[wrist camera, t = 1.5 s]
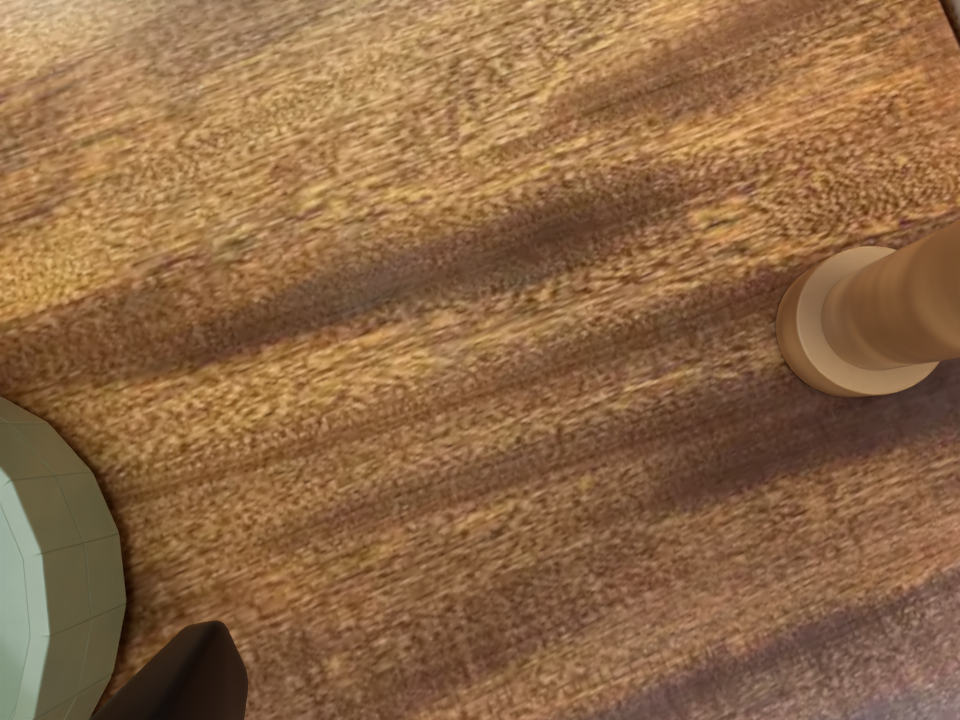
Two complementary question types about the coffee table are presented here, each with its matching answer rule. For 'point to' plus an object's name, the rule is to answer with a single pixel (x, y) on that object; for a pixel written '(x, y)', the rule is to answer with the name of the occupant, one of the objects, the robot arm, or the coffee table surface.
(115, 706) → the robot arm
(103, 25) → the coffee table surface
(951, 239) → the muddler
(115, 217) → the coffee table surface
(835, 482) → the coffee table surface
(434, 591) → the coffee table surface
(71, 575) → the bowl
